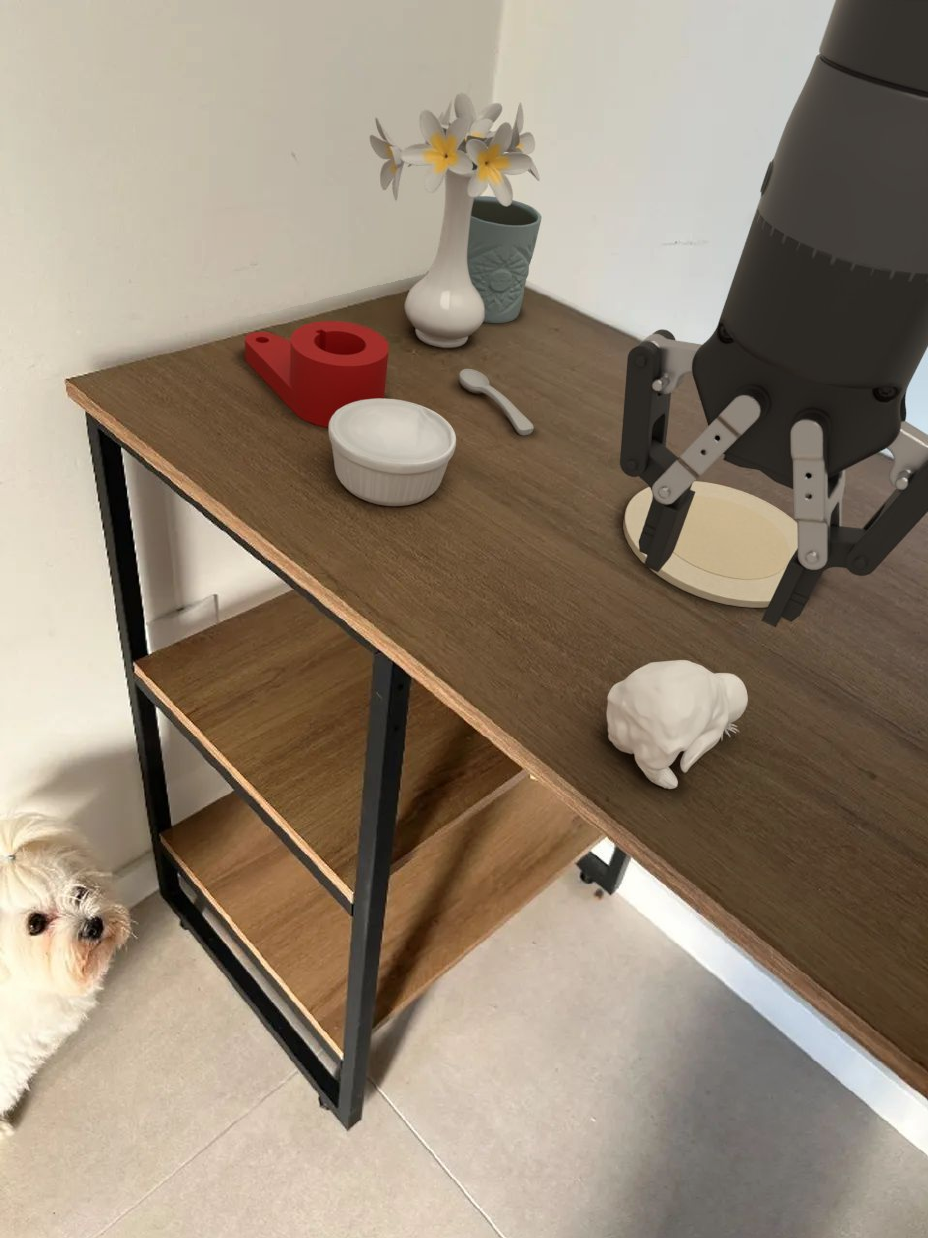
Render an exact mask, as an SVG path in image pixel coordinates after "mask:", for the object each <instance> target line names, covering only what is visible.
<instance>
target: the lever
mask: <svg viewBox="0 0 928 1238" xmlns="http://www.w3.org/2000/svg"><path fill="white" fill-rule="evenodd" d="M389 347H390V345H389V343H388V341H387V340H386V338H385V337H384V336H383V335H382V334H380V333H379V332H377V331H376V330H374V329H371V328H369V327H367V326H364V325H360V324H358V323H353V322H347V321H341V320H340V321H338V320H323V321H313V322H310V323H306V324H303V325H302V326H299V327H298V328H296V329H295V330H293V332H292V333H291V335H290V339H287V338H285V337H282V336H279V335H277V334H275V333H271V332H268V331H267V332H266V331H253V332H249V333H248V334H246V335H245V337H244V359H245V362H246V363H247V364H248V365H249V366H250V367H251V368H252V370H254V371H255V373H257V375H259V377H260V378H261V379H262V380H263V381H264V382H265V383H266V384H267V385H268V386H269V387H270V388H271V390H272V391H274V392H275V394H277V396H278V397H279V398H280V399H281V400H282V401H283V402H284V403H285V405H287V406H288V408H289V409H290V410H291V411H292V412H293V413H294V414H295V415H296V416H297V417H299V418H300V419H302V420H304V421H306V422H308V423H310V424H313V425H316V426H319V427H324V428H328V429H329V422H330V419H331V417H332V415H333V414H334V413H335V412H336V411H337V410H338V409H340V408H341V407H343V406H345V405H347V404H350V403H353V402H356V401H360V400H366V399H378V398H381V399H385V394H386V382H387V375H388V374H387V373H388V363H389V352H390V348H389Z"/></svg>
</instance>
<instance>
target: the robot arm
mask: <svg viewBox="0 0 928 1238" xmlns="http://www.w3.org/2000/svg"><path fill="white" fill-rule="evenodd" d="M833 3H834V4H833V6H832V9H831V12H830V15H829V18H828V21H827V24H826V27H825V30H824V33H823V35H822V39H821V42H820V44H819V47H818V53H819V54H817V55H816V56H815V58H814V61H813V64H812V66H811V69H810V72H809V74H808V76H807V79H806V81H805V82H804V85H803V87H802V90H801V91H800V93H799V95H798V97H797V99H796V102H795V104H794V105H793V108H792V110H791V112H790V114H789V117H788V119H787V121H786V123H785V126H784V127H783V128H784V129H783V131H782V134H781V136H780V139H779V141H778V144H777V147H776V151H775V153H774V156H773V158H772V159H771V161H769V163H768V166H767V169H766V172H765V174H764V177H763V181H762V184H761V186H760V190H759V193H760V198H759V201H758V204H757V207H756V210H755V212H754V216H753V219H752V221H751V225H750V227H749V231H748V233H747V236H746V239H745V243H744V245H743V248H742V251H741V254H740V257H739V260H738V264H737V266H736V269H735V272H734V275H733V278H732V281H731V284H730V287H729V289H728V292H727V296H726V299H725V302H724V304H723V309H722V311H721V314H720V317H719V320H718V323H717V326H716V327H715V329H714V331H713V333H712V334H711V336H710V337H709V338H708V339H707V340H706V341H705V342H703V343H702V344H701V343H696V342H695V343H694V342H687V341H682V340H677V339H676V338H675V335H674V334H673V333H672V332H671V331H669V330H667V329H663V328H662V329H658V330H655V331H654V332H652V333H651V334H649V335H648V336H646V337H645V338H644V339H642V341H640V342H639V343H638V344H637V345H636V346H634V347H633V348H631V349H630V350H629V352H628V354H627V360H626V372H625V373H626V376H625V387H624V399H623V400H624V401H623V415H622V428H621V429H622V430H621V441H620V442H621V443H620V455H619V465H620V469H621V471H622V472H623V473H624V474H625V475H626V476H628V477H631V478H637V477H639V478H640V480H642V481H643V482H645V483H646V485H647V486H648V487H650V488H651V491H652V495H653V498H652V502H651V505H650V508H649V511H648V514H647V517H646V520H645V523H644V526H643V529H642V532H641V535H640V538H639V551H640V552H642V553H644V554H646V555H647V557H646V560H645V563H643V566H644V567H646V568H648V569H649V568H650V569H652V570H654V571H656V572H659V571H660V569H661V568H662V567H663V566H664V564H665V563H666V562H667V561H668V560H669V558H670V557H671V555H672V553H673V551H674V549H675V547H676V544H677V541H678V539H679V536H680V533H681V530H682V528H683V525H684V522H685V519H686V517H687V514H688V511H689V508H690V506H691V503H692V500H693V497H694V495H695V491H693V490H690V489H691V487H692V484H693V482H694V481H697V480H698V479H699V478H700V477H701V476H703V474H704V473H705V472H706V471H707V470H708V469H709V468H710V467H711V466H712V465H713V464H714V463H715V462H716V461H717V460H718V459H719V458H720V457H721V456H722V455H723V458H722V460H723V461H724V462H727V463H729V464H731V465H733V466H737V467H739V468H743V469H749V470H756V471H759V472H761V473H762V474H763V475H765V476H767V477H768V478H769V479H770V480H772V481H773V482H775V483H776V484H779V485H781V486H784V487H786V488H788V489H791V490H793V491H792V493H793V496H792V497H793V499H792V500H793V520H794V521H796V522H797V533H798V548H797V550H796V551H795V553H794V555H793V556H792V558H791V559H790V561H789V563H788V565H787V567H786V569H785V571H784V574H783V576H782V578H781V580H780V582H779V584H778V586H777V588H776V590H775V593H774V595H773V597H772V599H771V601H770V603H769V605H768V607H766V610H765V612H764V613H763V616H762V618H761V620H760V621H761V622H763V623H765V624H767V625H769V626H771V627H773V628H777V626H778V625H779V623H780V621H781V619H784V620H786V621H788V622H790V623H792V622H793V621H795V620H796V619H798V618H799V617H800V616H801V614H802V612H803V611H804V609H805V608H806V606H807V604H808V602H809V601H810V598H811V597H812V595H813V592H814V591H815V588H816V587H817V584H818V582H819V581H820V578H821V577H822V574H823V573H824V572H825V571H826V570H829V569H830V568H831V569H832V568H842V569H843V568H844V569H847V570H848V571H849V573H851V574H853V575H854V576H858V577H865V576H868V575H871V574H872V573H874V571H875V570H876V569H877V568H878V567H879V566H880V565H881V564H882V563H883V562H884V560H885V559H886V558H887V557H888V556H889V555H890V554H891V552H893V551H894V550H895V548H897V546H898V545H899V544H900V543H901V541H902V540H904V538H905V537H906V536H907V535H908V534H909V533H910V532H911V531H912V530H913V529H914V527H916V525H917V524H918V523H919V522H920V521H921V520H922V519H923V518H924V517H925V516H926V514H927V513H928V434H927V433H926V432H924V431H922V430H921V429H919V428H918V427H916V426H915V425H913V424H911V423H909V422H908V421H906V419H907V406H906V398H907V397H906V395H907V391H908V388H909V385H910V384H911V381H912V379H913V377H914V376H915V374H916V371H917V369H918V367H919V365H920V363H921V361H922V359H923V357H924V356H925V354H926V351H927V349H928V0H834V2H833ZM688 373H689V374H690V373H691V374H692V378H693V380H694V384H695V387H696V391H697V393H698V397H699V400H700V404H701V407H702V410H703V413H704V417H705V421H706V423H707V427H706V428H705V430H703V432H701V433H700V435H699V436H698V437H697V438H696V439H695V440H694V441H693V442H692V443H691V444H690V445H689V446H688V447H687V448H686V449H685V450H684V451H683V453H681V455H680V456H677V454H675V453H674V452H672V450H670V449H669V448H668V447H667V437H668V428H669V419H670V408H671V401H672V400H671V399H672V393H673V392H674V391H675V390H676V389H677V388H679V386H681V385H682V384H683V382H684V381H685V378H686V374H688ZM886 449H887V450H888V451H889V453H891V455H892V457H893V465H892V466H891V468H890V471H889V473H888V480H889V482H890V484H891V485H892V487H894V488H895V490H894V491H893V492H892V493H891V494H890V495H889V496H888V498H887V499H886V500H885V501H884V502H883V504H881V506H879V508H878V509H877V511H875V513H874V514H873V515H872V516H871V517H870V519H869V520H868V521H867V522H866V523H865V524H864V526H863V527H862V528H859V527H852V526H843V497H844V492H845V489H846V470H847V469H849V468H850V467H851V468H852V467H853V466H855V465H856V464H859V463H860V462H862V461H865V460H866V459H869V458H871V457H872V456H874V455H876V454H879V453H881V452H882V451H884V450H886ZM650 569H649V570H650ZM652 570H651V571H652Z"/></svg>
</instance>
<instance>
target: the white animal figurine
mask: <svg viewBox="0 0 928 1238" xmlns="http://www.w3.org/2000/svg"><path fill="white" fill-rule="evenodd" d="M748 702H749V697H748V692H747V688H746V685H745V683H744V682H743V681H742V679H741V678H739V677H738V676H737V675H736V674H733V673H729V672H715V673H714V672H712V671H710V670H709V669H708V668H706V667H704V666H703V665H701V664H700V663H699V664H698V663H696V662H692V661H690V660H687V659H676V660H665V661H652V662H649V663H647V664H645V665H643V666H641V667H639V668H637V669H635V670H634V671H633V672H631V673H630V674H629V675H628V676H627V677H626V678H625V679H623V680H621V681H619V682H617V683H615V684H613V685H612V687H611V688H610V689H609V692H608V694H607V706H606V722H607V733H608V735H607V737H608V740H609V742H611V743H612V745H613V746H614V747H615V748H616V749H617V750H619V751H620V752H622V753H626V754H629V755H634V760H635V762H636V764H637V766H638V767H639V769H641V771H642V772H643V774H644V775H645V777H646V778H647V779H648V780H649V781H650V782H651V783H653V784H655V785H657V786H660V787H662V788H664V789H667V790H673V789H676V788H677V787H678V784H679V781H678V777H677V776H676V775H675V773H674V772H673V770H672V769H671V768H670V766H671V765H672V764H673V763H674V762H675V761H676V759H677V757H678V756H679V754H680V753H681V752H683V753H682V755H681V758H680V761H679V762H680V764H679V766H680V770H681V771H682V773H687V772H688V771H689V769H690V768H692V766H693V765H694V764H695V763H696V762H697V761H698V760H699V759H700V758H702V756H703V755H704V754H706V753H707V752H708V751H710V750H711V749H712V748H714V747H715V746H716V745H717V744H718V742H719V741H720V739H721V741H723V737H724V734H726V735H728V737H731V734H730V733H729V731H730V732H733V733H735V734H737V732H738V733H740V731H739V729H737V728H738V726H737V725H736V724H734V722H736V721H737V720H739V719H740V718H741V717H742V715H743V714H744V712H745V710H746V709H747V706H748Z"/></svg>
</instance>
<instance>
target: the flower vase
mask: <svg viewBox="0 0 928 1238" xmlns="http://www.w3.org/2000/svg"><path fill="white" fill-rule="evenodd" d="M453 102H454V103H453ZM452 103H453V105H454V106H453V108H454V113H455V116H454V115H451V109H452ZM502 112H503V105H502V104H501V103H500V102H494V103H491V104H488V105H486V106H485V107H483V109H481V110H480V111H479V112H478V114H476V109H475V105H474V103H473V101H472V99H471V97H470V96H469V95H467V94H466V93H465V92H460V93H457V94H456V96H455V97H454V101H453V100H452V99H451V100H450V102H449V104H448V106H447V108H446V110H445V113H444V112H441V113H440V114H439V115H438V117H437V116H436V114H435V113H434V112H433V111H431V110H429V109H424V110H422V111H421V113H420V114H419V122H418V123H419V129H420V132H421V135H422V137H423V139H424V142H418V143H413V144H410V145H407V146H406V147H405V148H404V149H402V148H401V147H400V146H399V145H398V144H397V142H396V141H395V140H394V139H393V138H392V137H391V135H390V134H389V133H388V131H387V130H386V128H385V126H384V125H383V124H382V123H381V121H380V119H379V118H378V117H375V118H374V119H375V127H376V130H377V132H378V134H379V136H380V137H378V136H377V135H374V134H370V135H369V143H370V146H371V148H372V150H373V151H374V153H375V154H376V155H377V156H378V157H379V158H380V159H382V160H387V161H385V162H384V163H383V164H382V166H381V169H380V172H379V173H380V174H379V179H380V181H379V182H380V187H381V189H382V190H383V191H386V190H387V189H388V187H389V186H390V184H391V186H392V187H391V189H392V195H393V198H394V200H395V201H397V200H398V194H399V188H400V182H401V177H402V173H403V168H404V165H405V164H406V165H408V166H407V168H410V167H411V166H416V167H417V166H427V167H426V169H425V173H424V178H423V183H424V189H425V190H426V192H427V193H431V194H433V193H435V192H436V191H438V189H439V188H440V186H441V185H442V183H443V181H444V190H445V191H444V206H443V207H444V209H443V214H442V215H443V217H442V222H441V230H440V235H439V236H440V237H439V242H438V246H437V251H436V254H435V259H434V260H433V262H432V264H431V267H430V268H429V270H428V271H427V273H426V275H425V276H424V277H422V278H421V279H420V280H419V281H417V282H416V283H415V284H414V285H413V286H412V287H411V288H410V289H409V291H408V293H407V295H406V298H405V301H404V305H403V306H404V307H403V308H404V312H405V315H406V318H407V319H408V321H409V323H410V324H411V325H412V326H413V327H414V328H415V329H414V330H415V335H416V337H417V338H418V339H419V341H421V342H423V343H424V344H427V345H429V346H432V347H436V348H442V349H451V348H452V349H454V348H459V347H461V346H463V345H465V344H466V343H467V342H468V340H469V336H471V335H473V334H475V333H476V332H477V331H478V330H479V329H480V327H481V326H482V325H483V324H484V323H485V322H484V318H485V306H484V302H483V300H482V298H481V296H480V294H479V292H478V291H477V289H476V288H475V287H474V285H473V284H472V282H471V278H470V275H469V270H468V264H467V250H468V238H469V228H470V219H471V212H472V206H473V202H474V198H475V197H478V196H482V194H483V193H485V192H486V190H487V189H488V187H490V189H491V190H492V193H493V195H494V197H496V198H497V200H498V201H499V202H500V203H501V204H502V205H503V206H509V205H510V204H511V203H512V200H514V191H513V186H512V184H511V181H510V180H509V179H510V178H509V177H508V176H515V175H516V176H517V175H521V174H525V173H526V172H528V173H529V174H531V175H532V176H533V177H534V178H535V179H536V180H537V181H538V182H540V179H541V178H540V175H539V172H538V170H537V167H536V164H535V163H534V161H533V159H532V157H531V156H530V155H529V154H532V153H533V152H534V151H535V149H536V140H535V137H534V135H533V134H532V132H530V131H525V132H523V133H522V131H523V129H524V121H525V120H524V119H525V118H524V110H523V105H522V102H518V107H517V110H516V116H515V119H514V124H513V127H512V125H511V124H510V123H511V122H507V121H505V122H503V123H501V124H500V125H499V126H498V127H497V129H496V130H493V131H492V130H491V129H492V127H493V126H494V123H495V122H496V121H497V120H498V118H499V117H500V115H502ZM506 175H507V176H506Z"/></svg>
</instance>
